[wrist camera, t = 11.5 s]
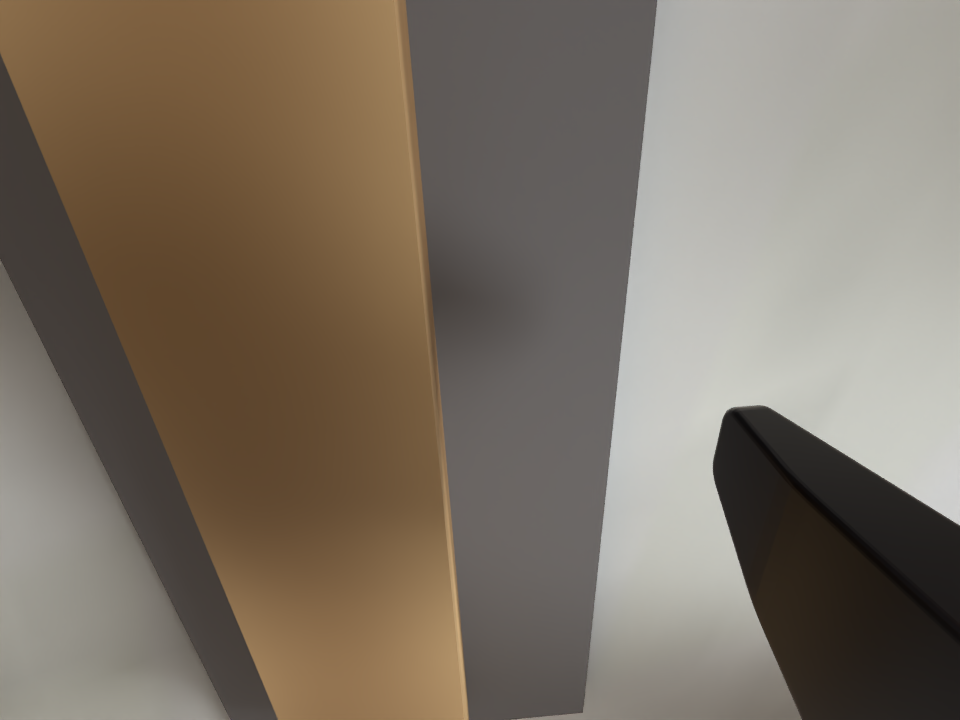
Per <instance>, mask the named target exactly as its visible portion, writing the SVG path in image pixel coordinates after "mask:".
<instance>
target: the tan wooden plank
mask: <svg viewBox="0 0 960 720" xmlns="http://www.w3.org/2000/svg"><path fill="white" fill-rule="evenodd" d="M0 54H1V56H2V58H3V61H4V63H5V66H6V68H7V70H8V73H9V75H10V78H11V80H12V82H13V85H14V87H15V90H16V92H17V94H18V97H19V99H20V102H21V104H22V106H23V109H24V111H25V114H26V116H27V118H28V121H29V123H30V126H31V128H32V130H33V133H34V135H35V138H36V140H37V142H38V145H39V147H40V150H41V152H42V154H43V157H44V159H45V162H46V164H47V166H48V169H49V171H50V174H51V176H52V178H53V181H54V183H55V186H56V188H57V190H58V193H59V195H60V198H61V200H62V202H63V205H64V207H65V210H66V212H67V214H68V217H69V219H70V222H71V224H72V226H73V229H74V231H75V234H76V236H77V238H78V241H79V243H80V246H81V248H82V250H83V253H84V255H85V258H86V260H87V262H88V265H89V267H90V270H91V272H92V274H93V277H94V279H95V282H96V284H97V286H98V289H99V291H100V294H101V296H102V298H103V301H104V303H105V306H106V308H107V310H108V313H109V315H110V318H111V320H112V322H113V325H114V327H115V330H116V332H117V334H118V337H119V339H120V342H121V344H122V346H123V349H124V351H125V354H126V356H127V358H128V361H129V363H130V365H131V368H132V370H133V373H134V375H135V377H136V380H137V382H138V385H139V387H140V389H141V392H142V394H143V397H144V399H145V401H146V404H147V406H148V409H149V411H150V413H151V416H152V418H153V421H154V423H155V425H156V428H157V430H158V433H159V435H160V437H161V440H162V442H163V445H164V447H165V449H166V452H167V454H168V457H169V459H170V461H171V464H172V466H173V469H174V471H175V473H176V476H177V478H178V481H179V483H180V485H181V488H182V490H183V493H184V495H185V497H186V500H187V502H188V505H189V507H190V509H191V512H192V514H193V517H194V519H195V521H196V524H197V526H198V529H199V531H200V533H201V536H202V538H203V541H204V543H205V545H206V548H207V550H208V553H209V555H210V557H211V560H212V562H213V565H214V567H215V569H216V572H217V574H218V577H219V579H220V581H221V584H222V586H223V589H224V591H225V593H226V596H227V598H228V601H229V603H230V605H231V608H232V610H233V613H234V615H235V617H236V620H237V622H238V625H239V627H240V629H241V632H242V634H243V637H244V639H245V641H246V644H247V646H248V649H249V651H250V653H251V656H252V658H253V661H254V663H255V665H256V668H257V670H258V673H259V675H260V677H261V680H262V682H263V685H264V687H265V689H266V692H267V694H268V696H269V699H270V701H271V704H272V706H273V708H274V711H275V713H276V716H277V718H278V720H469V714H468V700H467V688H466V677H465V666H464V654H463V643H462V632H461V621H460V609H459V598H458V587H457V575H456V564H455V553H454V542H453V530H452V519H451V508H450V496H449V485H448V474H447V463H446V451H445V440H444V429H443V417H442V406H441V395H440V384H439V372H438V361H437V350H436V338H435V327H434V316H433V305H432V293H431V282H430V271H429V259H428V248H427V237H426V225H425V214H424V203H423V192H422V180H421V169H420V158H419V146H418V135H417V124H416V113H415V101H414V90H413V79H412V67H411V56H410V45H409V34H408V22H407V11H406V0H0Z"/></svg>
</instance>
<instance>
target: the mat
mask: <svg viewBox="0 0 960 720" xmlns="http://www.w3.org/2000/svg"><path fill="white" fill-rule="evenodd" d="M656 7H657V0H406V11H407V22H408V34H409V45H410V56H411V67H412V79H413V90H414V101H415V113H416V124H417V135H418V146H419V158H420V169H421V180H422V192H423V203H424V214H425V225H426V237H427V248H428V259H429V271H430V282H431V293H432V305H433V316H434V327H435V338H436V350H437V361H438V372H439V384H440V395H441V406H442V417H443V429H444V440H445V451H446V463H447V474H448V485H449V496H450V508H451V519H452V530H453V542H454V553H455V564H456V575H457V587H458V598H459V609H460V621H461V632H462V643H463V654H464V666H465V677H466V688H467V700H468V714H469V720H511V719H521V718H531V717H542V716H552V715H562V714H573V713H583V705H584V696H585V686H586V677H587V667H588V658H589V648H590V638H591V629H592V619H593V610H594V600H595V591H596V581H597V572H598V562H599V552H600V543H601V533H602V524H603V514H604V505H605V495H606V485H607V476H608V466H609V457H610V447H611V438H612V428H613V418H614V409H615V399H616V390H617V380H618V371H619V361H620V351H621V342H622V332H623V323H624V313H625V304H626V294H627V284H628V275H629V265H630V256H631V246H632V237H633V227H634V217H635V208H636V198H637V189H638V179H639V170H640V160H641V151H642V141H643V131H644V122H645V112H646V103H647V93H648V84H649V74H650V64H651V55H652V45H653V36H654V26H655V17H656ZM0 259H1V261H2V263H3V265H4V267H5V269H6V271H7V273H8V275H9V277H10V279H11V281H12V283H13V285H14V287H15V289H16V291H17V293H18V295H19V297H20V299H21V301H22V303H23V305H24V307H25V309H26V311H27V313H28V315H29V317H30V319H31V321H32V323H33V325H34V327H35V329H36V331H37V333H38V335H39V337H40V339H41V341H42V343H43V345H44V347H45V349H46V351H47V353H48V355H49V357H50V359H51V361H52V363H53V365H54V367H55V369H56V371H57V373H58V375H59V377H60V379H61V381H62V383H63V385H64V387H65V389H66V391H67V393H68V395H69V397H70V399H71V401H72V403H73V405H74V407H75V409H76V411H77V413H78V415H79V417H80V419H81V421H82V423H83V425H84V427H85V429H86V431H87V433H88V435H89V437H90V439H91V441H92V443H93V445H94V447H95V449H96V451H97V453H98V455H99V457H100V459H101V461H102V463H103V465H104V467H105V469H106V471H107V473H108V475H109V477H110V479H111V481H112V483H113V485H114V487H115V489H116V491H117V493H118V495H119V497H120V499H121V501H122V503H123V505H124V507H125V509H126V511H127V513H128V515H129V517H130V519H131V521H132V523H133V525H134V527H135V529H136V531H137V533H138V535H139V537H140V539H141V541H142V543H143V545H144V547H145V549H146V551H147V553H148V555H149V557H150V559H151V561H152V563H153V565H154V567H155V569H156V571H157V573H158V575H159V577H160V579H161V581H162V583H163V585H164V587H165V589H166V591H167V593H168V595H169V597H170V599H171V601H172V603H173V605H174V607H175V609H176V611H177V613H178V615H179V617H180V619H181V621H182V623H183V625H184V627H185V629H186V631H187V633H188V635H189V637H190V639H191V641H192V643H193V645H194V647H195V649H196V651H197V653H198V655H199V657H200V659H201V661H202V663H203V665H204V667H205V669H206V671H207V673H208V675H209V677H210V679H211V681H212V683H213V685H214V687H215V689H216V691H217V693H218V695H219V697H220V699H221V701H222V703H223V705H224V707H225V709H226V711H227V713H228V715H229V717H230V719H231V720H278V718H277V716H276V713H275V711H274V708H273V706H272V704H271V701H270V699H269V696H268V694H267V692H266V689H265V687H264V685H263V682H262V680H261V677H260V675H259V673H258V670H257V668H256V665H255V663H254V661H253V658H252V656H251V653H250V651H249V649H248V646H247V644H246V641H245V639H244V637H243V634H242V632H241V629H240V627H239V625H238V622H237V620H236V617H235V615H234V613H233V610H232V608H231V605H230V603H229V601H228V598H227V596H226V593H225V591H224V589H223V586H222V584H221V581H220V579H219V577H218V574H217V572H216V569H215V567H214V565H213V562H212V560H211V557H210V555H209V553H208V550H207V548H206V545H205V543H204V541H203V538H202V536H201V533H200V531H199V529H198V526H197V524H196V521H195V519H194V517H193V514H192V512H191V509H190V507H189V505H188V502H187V500H186V497H185V495H184V493H183V490H182V488H181V485H180V483H179V481H178V478H177V476H176V473H175V471H174V469H173V466H172V464H171V461H170V459H169V457H168V454H167V452H166V449H165V447H164V445H163V442H162V440H161V437H160V435H159V433H158V430H157V428H156V425H155V423H154V421H153V418H152V416H151V413H150V411H149V409H148V406H147V404H146V401H145V399H144V397H143V394H142V392H141V389H140V387H139V385H138V382H137V380H136V377H135V375H134V373H133V370H132V368H131V365H130V363H129V361H128V358H127V356H126V354H125V351H124V349H123V346H122V344H121V342H120V339H119V337H118V334H117V332H116V330H115V327H114V325H113V322H112V320H111V318H110V315H109V313H108V310H107V308H106V306H105V303H104V301H103V298H102V296H101V294H100V291H99V289H98V286H97V284H96V282H95V279H94V277H93V274H92V272H91V270H90V267H89V265H88V262H87V260H86V258H85V255H84V253H83V250H82V248H81V246H80V243H79V241H78V238H77V236H76V234H75V231H74V229H73V226H72V224H71V222H70V219H69V217H68V214H67V212H66V210H65V207H64V205H63V202H62V200H61V198H60V195H59V193H58V190H57V188H56V186H55V183H54V181H53V178H52V176H51V174H50V171H49V169H48V166H47V164H46V162H45V159H44V157H43V154H42V152H41V150H40V147H39V145H38V142H37V140H36V138H35V135H34V133H33V130H32V128H31V126H30V123H29V121H28V118H27V116H26V114H25V111H24V109H23V106H22V104H21V102H20V99H19V97H18V94H17V92H16V90H15V87H14V85H13V82H12V80H11V78H10V75H9V73H8V70H7V68H6V66H5V63H4V61H3V58H2V56H1V54H0Z"/></svg>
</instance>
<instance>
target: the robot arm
mask: <svg viewBox="0 0 960 720" xmlns="http://www.w3.org/2000/svg"><path fill="white" fill-rule="evenodd" d="M713 475H714V481H715V485H716V488H717V491H718V494H719V498H720V501H721V504H722V507H723V511H724V514H725V517H726V520H727V524H728V527H729V530H730V533H731V537H732V540H733V543H734V547H735V550H736V553H737V556H738V560H739V563H740V566H741V569H742V573H743V576H744V579H745V582H746V585H747V588H748V591H749V594H750V597H751V600H752V603H753V606H754V609H755V611H756V613H757V616H758V618H759V621H760V623H761V626H762V628H763V630H764V633H765V635H766V637H767V640H768V642H769V644H770V647H771V649H772V651H773V654H774V656H775V658H776V660H777V663H778V665H779V667H780V670H781V672H782V674H783V677H784V679H785V681H786V683H787V686H788V688H789V690H790V693H791V695H792V697H793V700H794V702H795V704H796V707H797V709H798V711H799V713H800V716H801V718H802V720H960V525H958V524H956V523H955V522H953V521H952V520H950V519H948V518H947V517H945V516H944V515H942V514H940V513H939V512H937V511H935V510H934V509H932V508H931V507H929V506H927V505H926V504H924V503H923V502H921V501H919V500H918V499H916V498H914V497H913V496H911V495H910V494H908V493H906V492H905V491H903V490H902V489H900V488H898V487H897V486H895V485H893V484H892V483H890V482H889V481H887V480H885V479H884V478H882V477H881V476H879V475H877V474H876V473H874V472H872V471H871V470H869V469H868V468H866V467H864V466H863V465H861V464H860V463H858V462H856V461H855V460H853V459H851V458H850V457H848V456H847V455H845V454H843V453H842V452H840V451H839V450H837V449H835V448H834V447H832V446H830V445H829V444H827V443H826V442H824V441H822V440H821V439H819V438H818V437H816V436H814V435H813V434H811V433H809V432H808V431H806V430H805V429H803V428H801V427H800V426H798V425H797V424H795V423H793V422H792V421H790V420H788V419H787V418H785V417H784V416H782V415H780V414H779V413H777V412H776V411H774V410H772V409H770V408H768V407H766V406H760V405H757V406H744V407H733V408H731V409H729V410H727V411H726V413H725V415H724V417H723V420H722V424H721V429H720V433H719V438H718V442H717V446H716V451H715V455H714V460H713Z"/></svg>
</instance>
